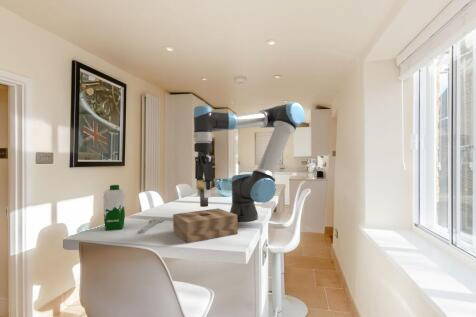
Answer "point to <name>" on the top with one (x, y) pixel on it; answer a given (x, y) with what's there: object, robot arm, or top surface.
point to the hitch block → (204, 225)
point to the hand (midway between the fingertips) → (204, 196)
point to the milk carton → (114, 208)
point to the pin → (201, 193)
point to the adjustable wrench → (150, 225)
